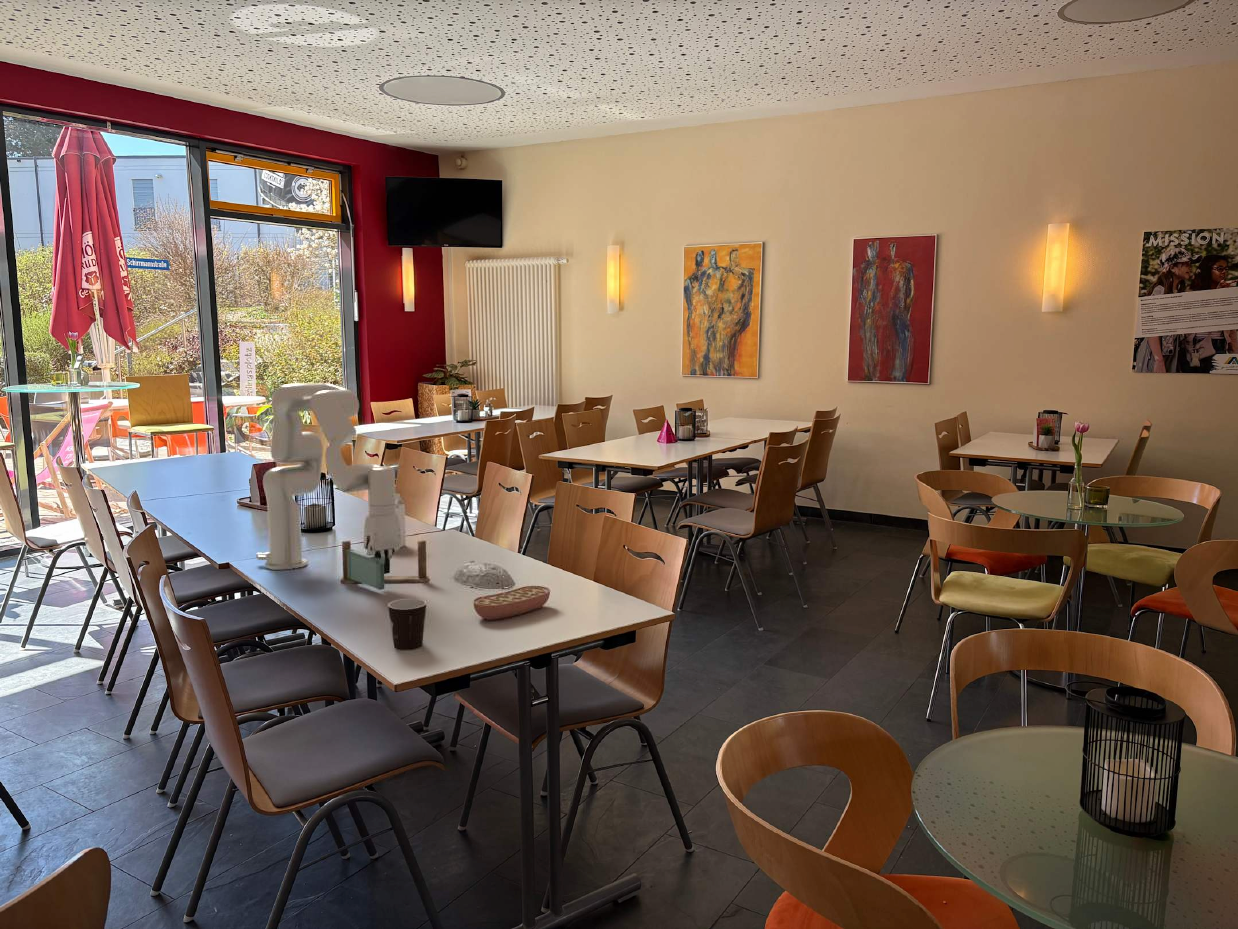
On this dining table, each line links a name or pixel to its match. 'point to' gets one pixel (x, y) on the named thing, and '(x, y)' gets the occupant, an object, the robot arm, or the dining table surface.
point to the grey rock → (483, 576)
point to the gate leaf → (365, 569)
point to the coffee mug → (407, 623)
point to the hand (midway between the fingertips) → (384, 572)
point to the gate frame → (420, 578)
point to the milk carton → (401, 518)
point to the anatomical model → (511, 602)
